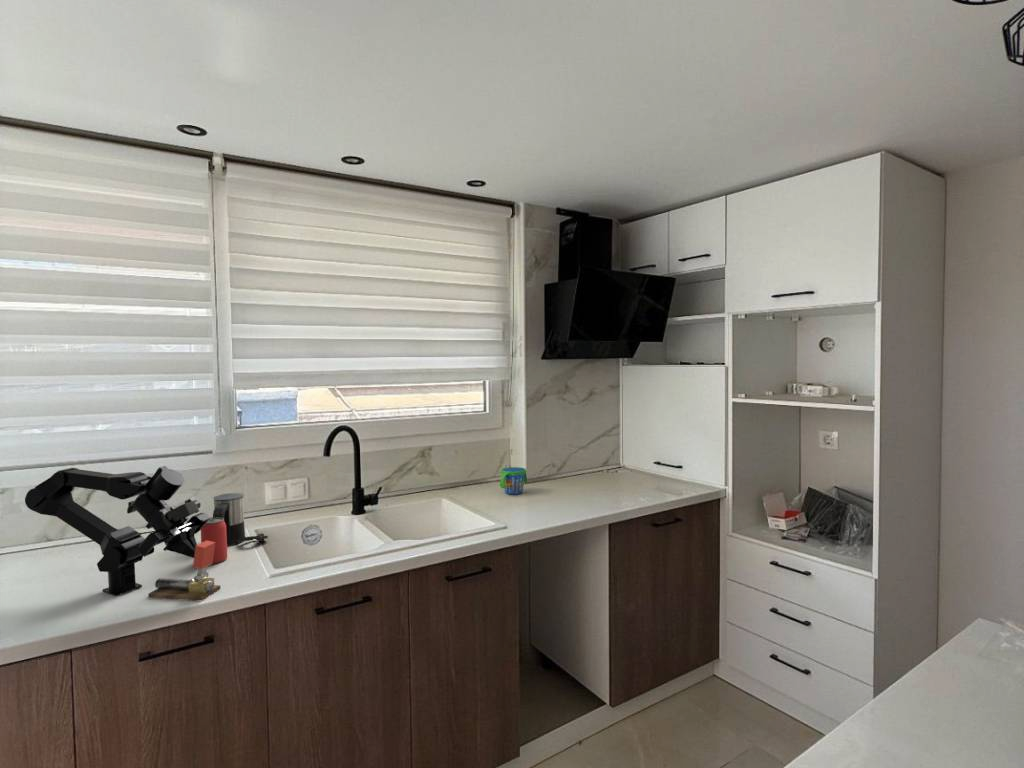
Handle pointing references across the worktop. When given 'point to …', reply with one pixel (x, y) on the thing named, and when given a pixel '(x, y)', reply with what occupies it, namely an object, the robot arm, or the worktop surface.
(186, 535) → the robot arm
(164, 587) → the valve body
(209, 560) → the valve lever
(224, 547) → the beer can
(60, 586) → the worktop surface
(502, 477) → the snack cup
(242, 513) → the milk frother
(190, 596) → the walnut board
